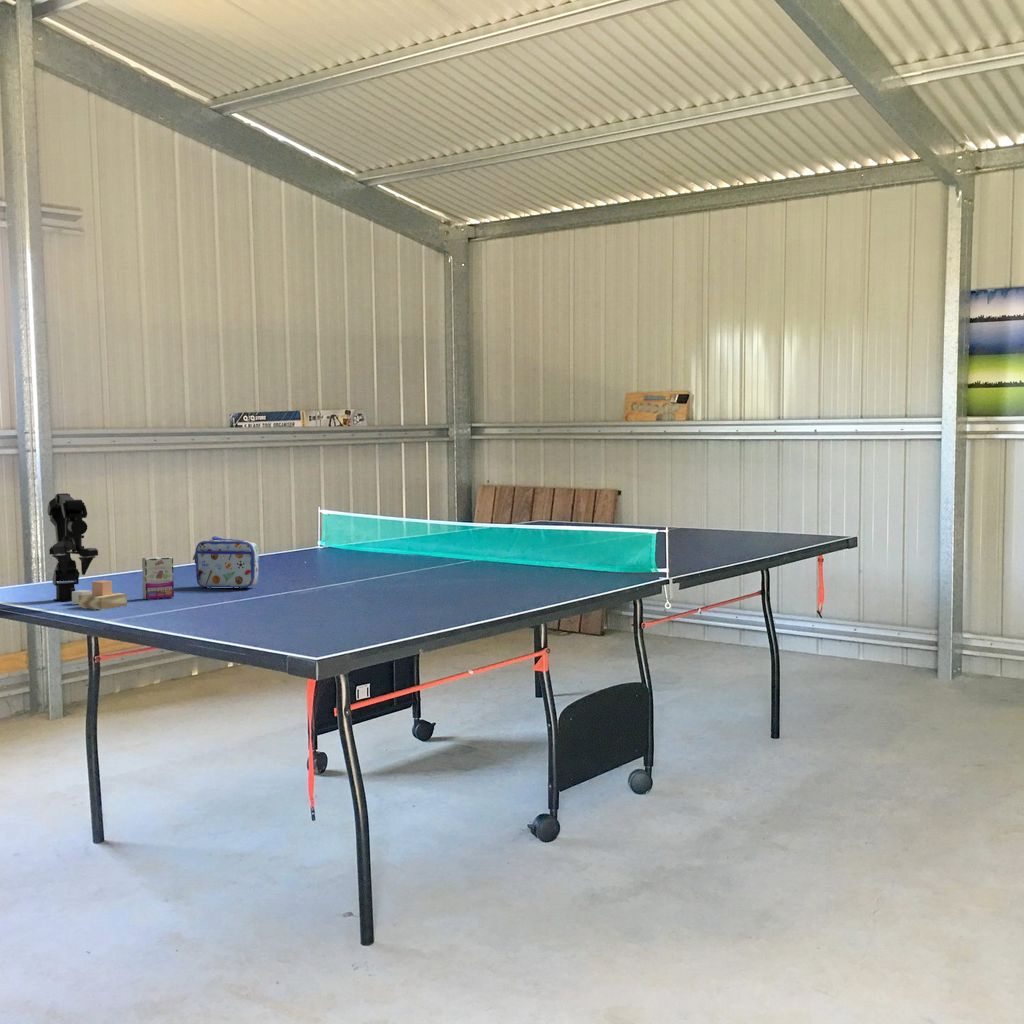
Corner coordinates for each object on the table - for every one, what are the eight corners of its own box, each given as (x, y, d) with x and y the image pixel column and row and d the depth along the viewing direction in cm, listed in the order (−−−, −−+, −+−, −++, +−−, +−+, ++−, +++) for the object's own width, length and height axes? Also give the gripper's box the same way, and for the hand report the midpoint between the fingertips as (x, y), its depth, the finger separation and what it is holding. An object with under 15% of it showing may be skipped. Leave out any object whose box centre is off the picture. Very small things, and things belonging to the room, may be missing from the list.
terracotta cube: (92, 595, 403) (92, 581, 402) (101, 593, 407) (101, 580, 407) (102, 595, 401) (102, 582, 400) (112, 594, 405) (112, 581, 405)
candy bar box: (170, 596, 432) (169, 556, 431) (174, 598, 428) (173, 557, 427) (141, 598, 426) (141, 557, 425) (145, 600, 422) (145, 558, 421)
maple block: (78, 608, 402) (78, 595, 401) (104, 604, 412) (104, 591, 412) (101, 611, 396) (101, 597, 396) (126, 607, 407) (126, 593, 407)
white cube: (72, 604, 409) (71, 591, 409) (81, 602, 414) (81, 589, 414) (82, 605, 407) (82, 592, 407) (91, 603, 412) (91, 590, 412)
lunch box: (190, 588, 456) (189, 537, 454) (199, 585, 466) (199, 535, 465) (253, 590, 453) (252, 538, 452) (261, 587, 463) (261, 536, 462)
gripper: (37, 533, 400) (38, 575, 401) (76, 535, 393) (77, 578, 394) (60, 531, 410) (61, 571, 411) (98, 533, 403) (99, 574, 404)
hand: (73, 574), depth 405 cm, fingers open, 9 cm apart
